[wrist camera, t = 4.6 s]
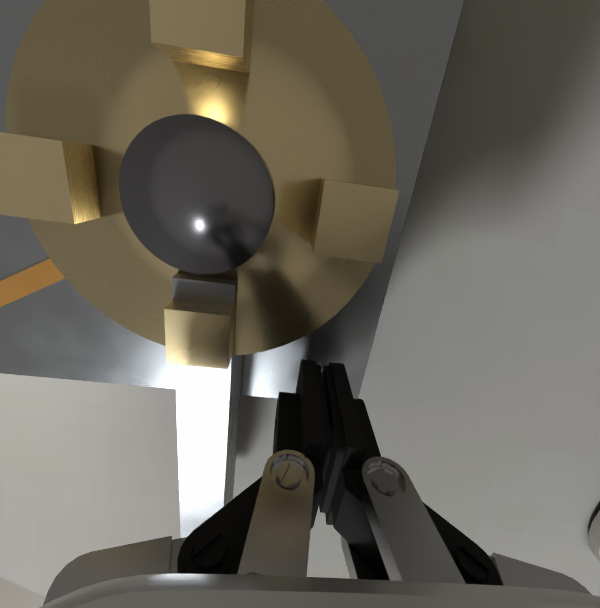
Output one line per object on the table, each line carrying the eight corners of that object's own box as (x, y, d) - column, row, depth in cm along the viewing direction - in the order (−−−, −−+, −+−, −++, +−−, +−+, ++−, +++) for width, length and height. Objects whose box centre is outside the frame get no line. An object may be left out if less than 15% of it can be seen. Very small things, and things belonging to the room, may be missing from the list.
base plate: (448, -11, 9) (477, -44, 8) (350, 384, 15) (356, 406, 14) (-298, -160, 8) (-432, -235, 6) (-84, 342, 14) (-128, 363, 12)
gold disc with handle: (401, 41, 8) (477, -46, 5) (300, 512, 17) (303, 603, 13) (60, -22, 8) (-125, -172, 4) (130, 501, 16) (85, 594, 13)
